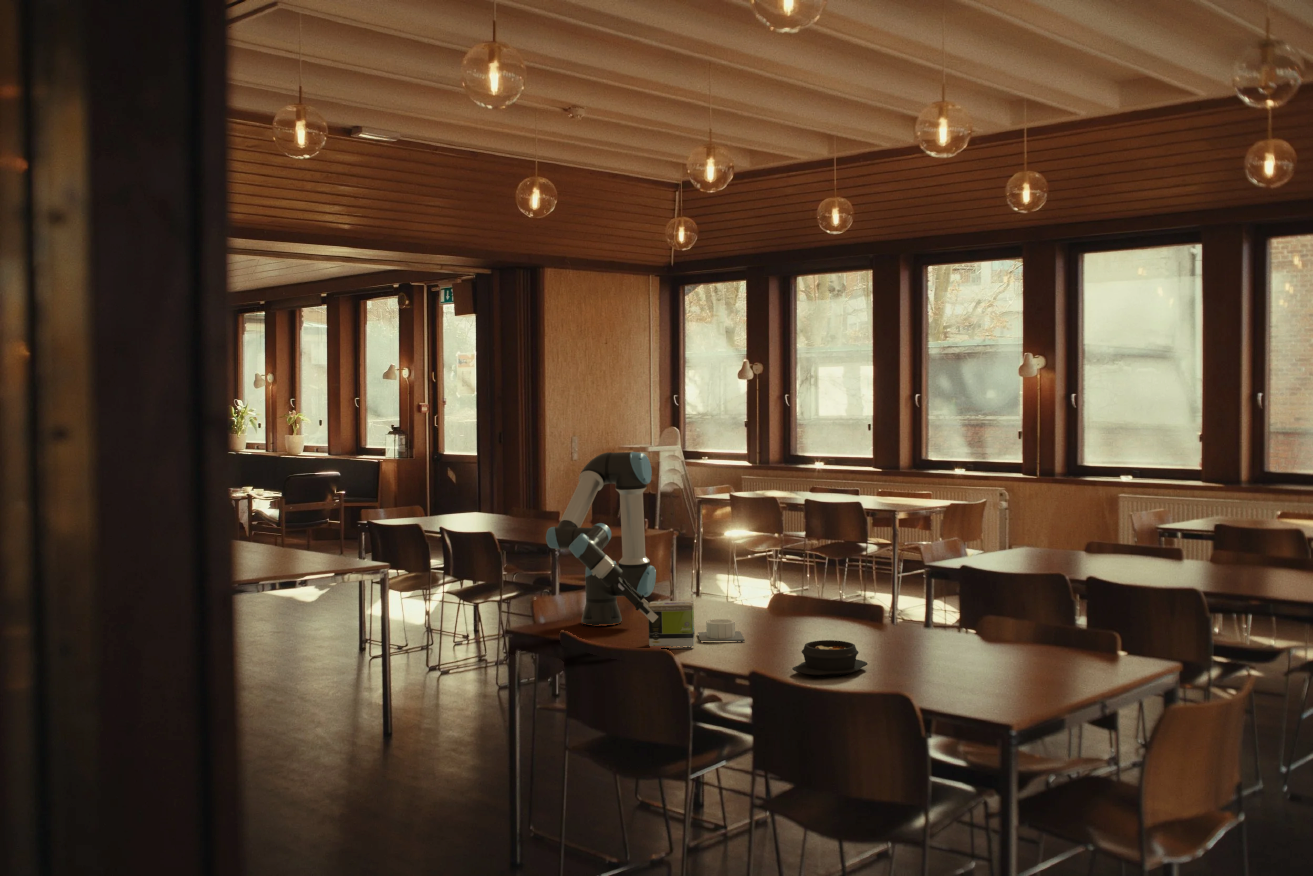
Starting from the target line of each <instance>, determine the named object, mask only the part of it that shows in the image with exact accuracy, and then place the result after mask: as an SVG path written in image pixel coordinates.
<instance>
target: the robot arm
mask: <svg viewBox="0 0 1313 876" xmlns="http://www.w3.org/2000/svg"><path fill="white" fill-rule="evenodd" d="M652 474H653V473H652V465H651V460H650V459H649V458H648V456H647V455H646V454H645V453H643V452H637V451H625V452H624V451H623V452H622V451H621V452H618V451H617V452H611V451H610V452H603V453H601V454H598V455H597V456H594V458H592V459H591V460H590V461H588V463H586V464H585V466H584V467H583V468H582V470H581V471H580V474H579V476H578V484H577V486H576V488H575V490H574V492H573V494H572V496H571V498H570V500H569V502H568V504H567V506H566V508H565V510H564V513H563V514H562V516H561V519H560V521H559V523H558V524H557V526H551V527H549V528H548V529H547V531H546V534H545V541H546V545H547V546H548V547H549V548H550V549H558V550H569V551H570V552H571V553H572V554H573V556H574V557H575V558H576V559H578V560H579V562H581V563H582V564H583V565H584V566H585V576H584V577H585V579H584V580H585V582H584V583H585V606H584V609H583V613H582V616H581V623H582V622H583V623H586V624H592V625H599V624H613V623H619V622H621V621H622V622H623V619H622V614H621V611H620V608H619V605H618V601H617V600H618V599H617V597H625V598H626V599H627V600H628V601H629V603H631V604H632V605H633V606H634V607H635V611H639V612H640V613H642V615H644V616H645V617H646V618H647V619H649V620H650V621H651V622H652V623H653V622H654V621H655V620H656V619H657V618H658V616H657V615H656V614H655V613H654V612H653V611H652V610H651V609H650V608H649V607H648V606H649V604H650V602H648V601H647V600H646V599H645V598H646V597H649V596H651V594H652V593H653V591H654V588H655V585H656V580H657V579H656V578H657V570H656V568H655V566H653V565H651V563H650V562H651V561H650V559H649V558H648V557H647V556H646V537H645V536H646V534H645V513H644V509H645V508H644V492H645V491H646V490H647V488H648V484H650V483H651V481H652V476H653V475H652ZM608 484H611V485H613V484H615V485H614V487H615V490H616V491H617V492H618V494H619V506H620V507H619V508H620V510H619V511H620V525H621V526H620V527H621V528H620V529H621V530H620V532H621V552H622V557H621V558H620V560H618V564H617V562H616V560H613V559H612V558H611V557H610V556H608V555H607V554H606V553H605V552H604V551H603V549H604V548H605V547H606V546H607V545H608V544H609V541H611V538H612V530H611V528H610V527H609V526H608V525H607V524H605V523H602V522H599V523H595V524H594V525H593V526H591V527H582V525H583V523H584V521H585V519H586V517H587V514H588V512H589V511H590V508H591V507H592V504H593V502H594V500H595V498H596V495H597V493H598V491H601V490H602V489H603V487H604V485H608Z"/></svg>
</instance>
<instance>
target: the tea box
mask: <svg viewBox="0 0 1313 876" xmlns="http://www.w3.org/2000/svg"><path fill="white" fill-rule="evenodd" d="M648 607H649V608H650V609H651V610H652V611H653V612H654V613H655V614H656V615H657V616H658V618H657V619H656V620H655V621H654V622H653V623H652V622H651V621H650V620H649V619H648V618H647V619H648V622H647V623H648V645H649V646H665V648H666V646H671V647H673V646H676V647H677V646H680V647H683V646H687V647H689V646H690V647H692V646H694V647H695V642H694V641H696V639H695V636H696V635H695V611H694V610H695V608H694V601H693V600H676V601H675V600H673V601H672V600H668V601H650V602H649V606H648ZM649 646H648V647H649Z"/></svg>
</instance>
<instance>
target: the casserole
mask: <svg viewBox="0 0 1313 876" xmlns="http://www.w3.org/2000/svg"><path fill="white" fill-rule="evenodd" d="M859 652H860V651H858V650H857V647H856V645H855V643H852V642H849V641H844V640H835V639H834V640H831V639H830V640H829V639H827V640H825V639H824V640H823V639H822V640H814V641H810V642H806V643H805V644H804V646H803V649H802V650H801V654H802V655H803V658H804V661H803V662H801V663H800V664H798V665H795V666H793V667H792V669H791V670H793V671H794V672H796V673H800V674H804V675H809V676H810V675H811V676H821V675H826V676H825V677H840V676H839V675H842V676H845V675H849V674H851V673H854V672H857V671H859V670H861V669H862V668H864V667H866V666H868V665H869V663H868V662H866V661H864V660H861V659H857V656H858V655H859Z"/></svg>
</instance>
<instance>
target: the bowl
mask: <svg viewBox="0 0 1313 876" xmlns="http://www.w3.org/2000/svg"><path fill="white" fill-rule="evenodd" d="M705 627H706V628H705V629H706V631H698V632H697V635H698V634H699V637H698V639H699V638H700V640H701V641H745V638H744V636H743V633H742V632H741V630H740V631H739V630H738V631H737V630H736V621H735V620H734V619H730V618H729V619H728V618H714V619H708V620H706V622H705ZM700 640H699V641H700Z"/></svg>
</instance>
